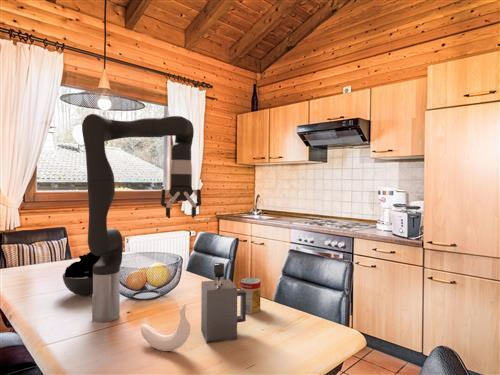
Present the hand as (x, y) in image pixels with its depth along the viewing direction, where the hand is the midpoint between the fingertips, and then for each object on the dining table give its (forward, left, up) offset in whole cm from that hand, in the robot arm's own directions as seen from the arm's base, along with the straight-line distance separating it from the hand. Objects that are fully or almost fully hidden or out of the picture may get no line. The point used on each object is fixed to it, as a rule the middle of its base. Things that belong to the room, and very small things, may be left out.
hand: (181, 217), depth 126 cm
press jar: (+13, -14, -38) cm, 43 cm away
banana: (-7, -19, -38) cm, 43 cm away
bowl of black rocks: (-36, +42, -38) cm, 67 cm away
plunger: (+11, -14, -32) cm, 37 cm away
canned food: (+28, +4, -38) cm, 48 cm away
